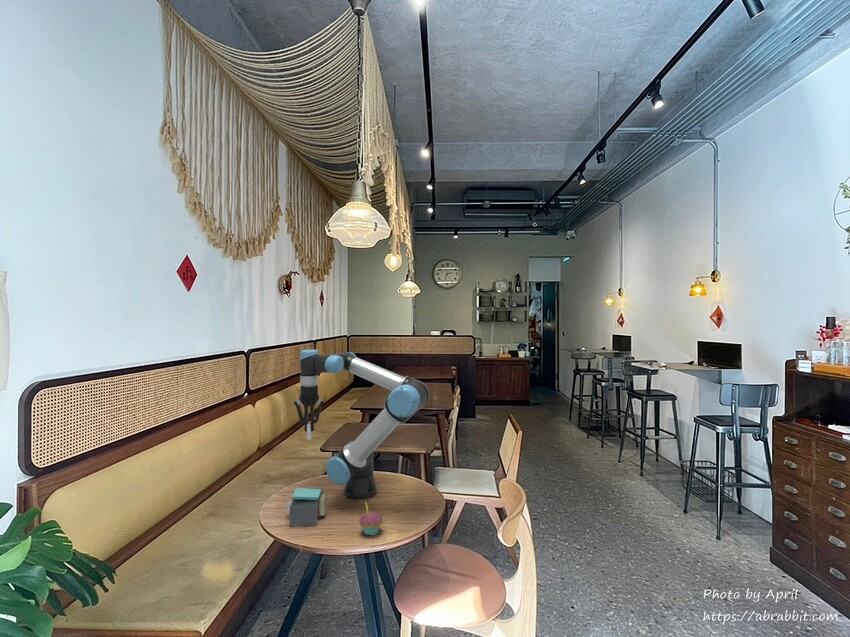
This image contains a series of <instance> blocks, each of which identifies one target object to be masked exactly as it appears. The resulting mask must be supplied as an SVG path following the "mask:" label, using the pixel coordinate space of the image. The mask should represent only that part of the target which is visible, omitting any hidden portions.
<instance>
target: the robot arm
mask: <svg viewBox="0 0 850 637" xmlns="http://www.w3.org/2000/svg"><path fill="white" fill-rule="evenodd" d="M299 355H300V356H299V365H300V375H299V380H300V381H299V383H300V388H299V389H300V390H299V392H300V394H299V397H298V399H297V400H295V401H294V402H293V404H294V406H295V407H296V411H297V415H298V418H299V422H300V424H303V425H304V432H306V440H307V441H308V440H310V441H311V440H312V437H313V435H312V434H313V433H312V432H314V431H315V424H317V423H318V422H319V419H320V415H321V410H322V406H323V405H324V403H325V400H324V399H322V398H320V395H319V385H318V384H319V373H326V374H329V373H330V374H339V373H341V372H342V371H346V372H348V373H350V374H353V375H356V376H357V377H360V378H362V379H364V380H366V381H369V382H371V383H373V384H375V385H378V386H380V387H383V388H385V389H387V390H389V391H390V393H389V395H388V397H387V399H386V401H385V402H384V403H383V405H384V408H383V409H382V410H381V412H379V414H378V415H377V416H376V417H375V418H374V419H373V420H371V422H370V423H369V424H368V425H367V426H366V428H364V430H363V431H362V432H361V433H360V434H359V435H358V436H357V437H356V439H355V440H351V441H348V443H347V444H345V445H344V446H343V447H342V448H341V450H340V451H338V452H337V454H336V455H335V456H332V457H330V458H329V460H328V461H327V462H326V465H325V470H326V476H327V477H328V479H329V481H330V482H333V483H334V484H336V485H340V486H341V485H344V486H343V497H346V498H347V499H350V500H355V499H361V500H367V499H370V497H371V498H373V497H375V496H376V495H377V494H378V485H377V481H376V478H375V476H374V452H375V450H376V449H377V448H378V447H379V446H380V445H381V443H383V441H385V439H387V437H388V436H389V435H390V434H391V433H392V432H393V431H394V430H395V429H396V428H397V427H398V425H400V424H406V423H407V422H408V421H409V420H410V419H411V417H413V416H414V414H416V412H418V411H420V410H421V409H423V408H424V407H426V405H427V404H428V403H429V401H430V399H431V398H430V397H431V394H430V390H429V387H428V386H427V385H426V384H425V383H424V382H422V381H420V380H418V379H416V378H415V377H411V376H408V375H406V376H403V375H400V374H398V373H396V372H393V371H391V370H388V369H386V368H383V367H381V366H378V365H376V364H374V363H371V362H369V361H366V360H364V359H361V358H359V357H357V355H356V354H355V353H353V352H351V351H345V352H341V353H332V354H319V351H318V349H303V350H301V351H300V354H299ZM301 404H302V406H304V407H303V409H304V412H303V410H302V407H301ZM316 404H318V406H317V410H316V413H315V406H316ZM309 410H310V412H309ZM303 413H304V415H303ZM309 413H310V414H309ZM315 414H316V415H315ZM309 415H310V422H309ZM366 498H367V499H366Z"/></svg>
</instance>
